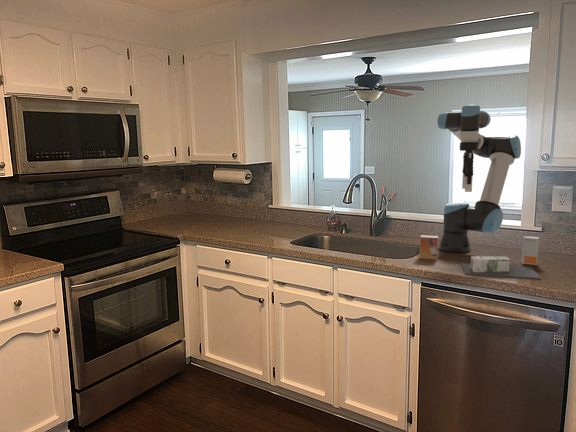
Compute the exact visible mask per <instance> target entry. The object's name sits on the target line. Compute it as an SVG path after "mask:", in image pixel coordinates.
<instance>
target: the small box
mask: <svg viewBox="0 0 576 432" xmlns="http://www.w3.org/2000/svg"><path fill="white" fill-rule="evenodd" d="M419 240H420V241H419V257H418V258H419V259H421V260H422V259H424V260H430V259H431V261H438V252H439V251H438V250H439V235H426V234H421V235H420V239H419Z"/></svg>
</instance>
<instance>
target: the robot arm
mask: <svg viewBox="0 0 576 432" xmlns="http://www.w3.org/2000/svg"><path fill="white" fill-rule="evenodd" d="M490 123H491V115H490V114H489V113H488V112H487V111H484V110H481V105H479V104H466V105H463V106H462V107H461V111H452V112H449V111H447V112H441V113H439V114H438V117H437V127H438V128H439V129H440V130H448V131H450V132H451V133H452V134H453V135H454V136H455V137H456V138H457V139H458V140H459V141H460V143H459V151H460V152H464V153H463V156H462V157H463V160H462V161H463V165H462V181H461V182H462V185H461V188H462V189H463V190H464V192H465V193H467V192H468V193H472V192H473V176H474V159H475V158H474V157H475V155H476V156H478V157H481V158H485V159H489V160H490V161H491V162H490V164H489V168H488V173H487V176H486V179H485V183H484V185H483V186H484V187H483V189H482V192H481V195H480V200H477V201H475V204H474V206H470V203H468V202H467V203H466V202H465V203H464V202H463V203H462V202H461V203H451V204H447V205H445V206H444V208H443V209H444V210H443V223H442V224H443V225H442V227H443V228H442V229H443V230H442V236H441V238H440V240H439V242H438V250H441V251H444V252H450V253H468V252H471V243H470V239H469V236H468V235H469V234H468V231H470V232H471V231H472V232H478V233H479V232H480V233H485V234H486V233H491V234H493V233H494V234H495V233H496V232H498V231H499V230H500V227H501V226H502V223H503V217H504V213H503V210H502V208H501V206H500V200H501V197H502V194H503V189H504V186H505V182H506V179H507V176H508V172H509V168H510V166H511V165H513V164H514V163H515V160H518V159H519V158H520V157H521V155H522V154H521V153H522V147H521V145H522V143H521V140H520V138H519V136H518V135H517V134H513V135H512V134H507V135H503V134H502V135H501V134H500V135H490V134H489V135H486V134H485V135H482V134H481V133H480V129H483V128H487V127H488V126H489V125H490Z"/></svg>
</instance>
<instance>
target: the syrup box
mask: <svg viewBox="0 0 576 432" xmlns="http://www.w3.org/2000/svg"><path fill="white" fill-rule="evenodd" d="M470 264H471V270H472V271H473V272H491V273H510V266H511V258H509V257H508V256H505V255H503V256H501V255H500V256H493V255H491V256H490V255H489V256H488V255H487V256H486V255H484V256H482V255H476V256H474V255H473V256H471V257H470Z"/></svg>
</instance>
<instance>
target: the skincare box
mask: <svg viewBox="0 0 576 432" xmlns="http://www.w3.org/2000/svg"><path fill="white" fill-rule="evenodd" d="M522 238H523V239H522V248H521V261H520V262H521V264H522V265H531V266H538V260H539V259H538V257H539V247H540V237H538V236H530V235H529V236H525V235H524V236H522Z"/></svg>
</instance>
